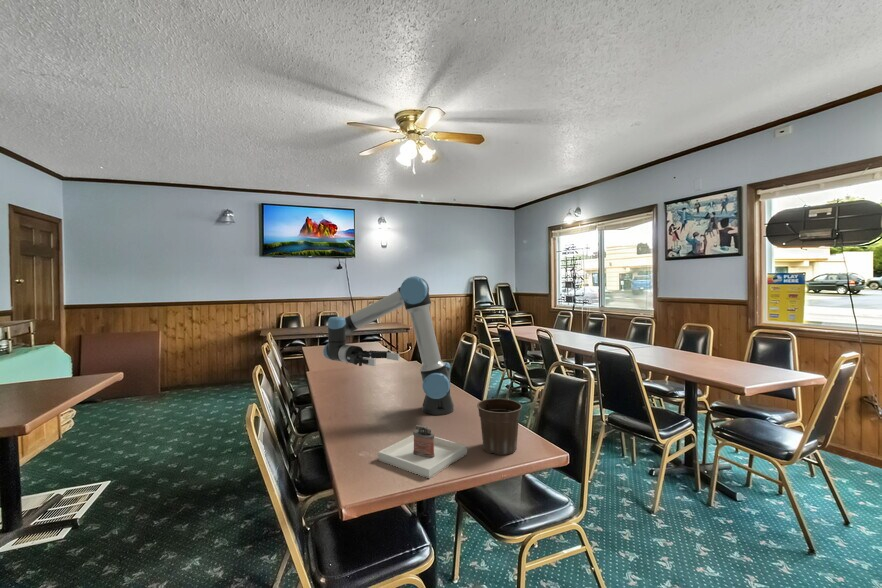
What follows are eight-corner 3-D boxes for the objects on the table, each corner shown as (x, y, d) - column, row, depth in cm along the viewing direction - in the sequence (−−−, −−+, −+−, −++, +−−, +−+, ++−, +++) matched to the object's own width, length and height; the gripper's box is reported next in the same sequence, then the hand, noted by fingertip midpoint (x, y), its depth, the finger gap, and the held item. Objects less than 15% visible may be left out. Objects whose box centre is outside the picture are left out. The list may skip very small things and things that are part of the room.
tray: (418, 439, 150) (418, 431, 150) (467, 454, 137) (467, 445, 137) (378, 460, 132) (378, 451, 132) (429, 479, 119) (429, 469, 119)
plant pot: (491, 461, 131) (491, 414, 131) (469, 443, 146) (469, 401, 145) (530, 453, 137) (531, 408, 137) (505, 437, 152) (506, 396, 152)
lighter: (436, 455, 134) (436, 426, 134) (431, 459, 131) (431, 429, 131) (416, 450, 138) (416, 422, 138) (411, 454, 135) (411, 426, 134)
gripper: (372, 358, 177) (407, 363, 165) (328, 367, 157) (364, 375, 145) (372, 342, 177) (407, 346, 165) (327, 349, 157) (364, 355, 144)
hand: (387, 359), depth 155 cm, fingers open, 13 cm apart
